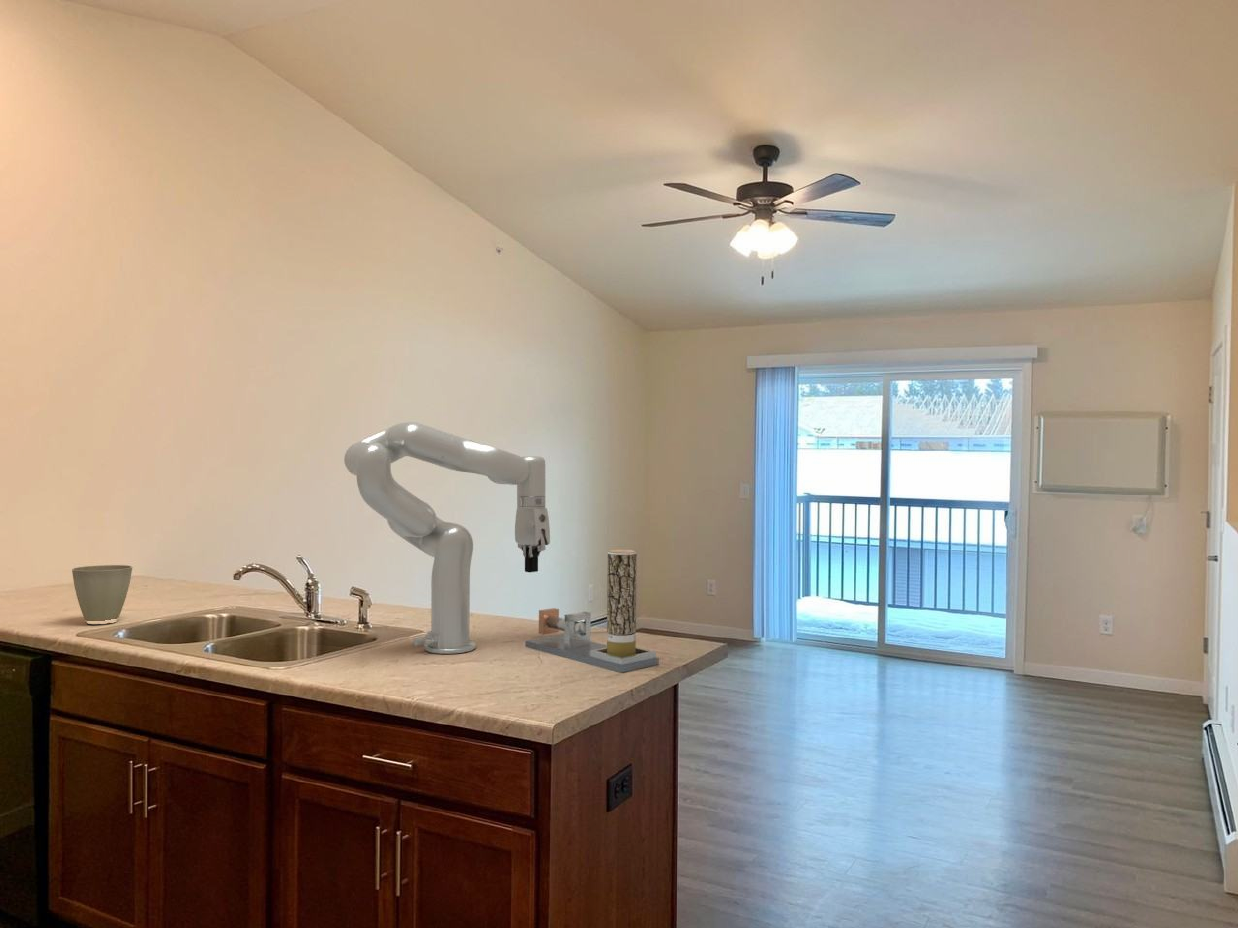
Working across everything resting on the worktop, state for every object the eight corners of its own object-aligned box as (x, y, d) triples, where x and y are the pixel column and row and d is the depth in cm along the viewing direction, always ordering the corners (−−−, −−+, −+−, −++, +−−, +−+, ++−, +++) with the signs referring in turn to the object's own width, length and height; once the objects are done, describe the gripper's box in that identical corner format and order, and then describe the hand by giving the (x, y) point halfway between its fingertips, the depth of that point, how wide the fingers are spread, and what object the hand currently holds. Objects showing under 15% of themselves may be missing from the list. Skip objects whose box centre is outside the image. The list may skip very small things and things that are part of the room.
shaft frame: (621, 672, 192) (621, 630, 192) (525, 646, 219) (525, 609, 219) (658, 664, 201) (659, 623, 201) (561, 639, 227) (562, 604, 227)
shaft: (573, 642, 210) (573, 617, 210) (538, 633, 220) (538, 610, 220) (589, 639, 214) (589, 615, 214) (553, 630, 224) (554, 608, 224)
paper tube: (614, 661, 196) (615, 553, 196) (601, 655, 203) (602, 550, 202) (640, 658, 200) (641, 551, 199) (627, 652, 206) (628, 549, 206)
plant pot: (124, 626, 240) (124, 570, 240) (63, 629, 236) (64, 571, 236) (138, 617, 254) (138, 563, 254) (81, 619, 250) (81, 565, 250)
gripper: (560, 503, 224) (560, 573, 224) (525, 501, 235) (525, 567, 235) (537, 504, 219) (537, 575, 219) (503, 502, 230) (503, 570, 230)
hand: (531, 571), depth 227 cm, fingers closed
